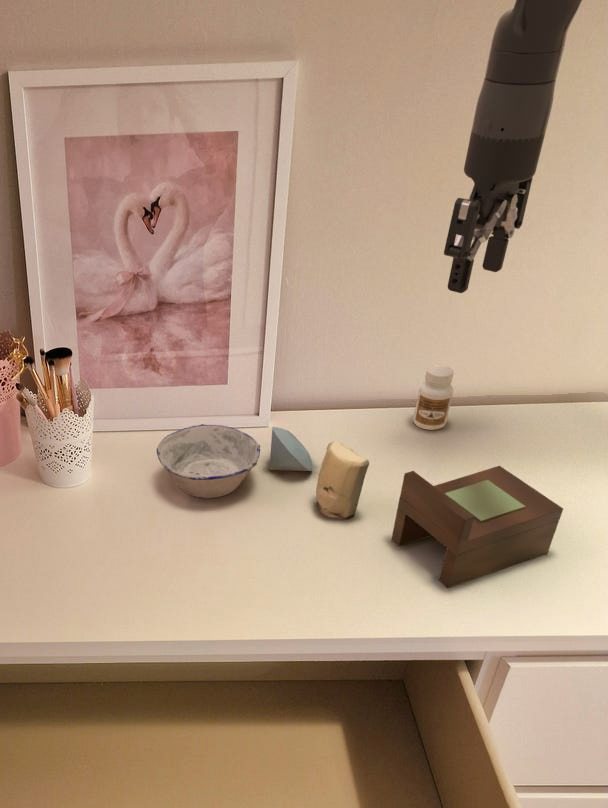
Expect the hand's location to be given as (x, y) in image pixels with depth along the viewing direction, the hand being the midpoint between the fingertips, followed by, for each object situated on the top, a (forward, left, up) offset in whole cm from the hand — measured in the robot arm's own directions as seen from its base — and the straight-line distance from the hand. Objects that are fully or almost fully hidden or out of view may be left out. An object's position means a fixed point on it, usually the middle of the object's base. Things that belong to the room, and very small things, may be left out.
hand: (474, 280), depth 104 cm
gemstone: (+22, -2, -21) cm, 31 cm away
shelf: (+13, +22, -21) cm, 33 cm away
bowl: (+33, -4, -21) cm, 40 cm away
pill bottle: (-1, -3, -21) cm, 21 cm away
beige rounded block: (+22, +9, -21) cm, 32 cm away
